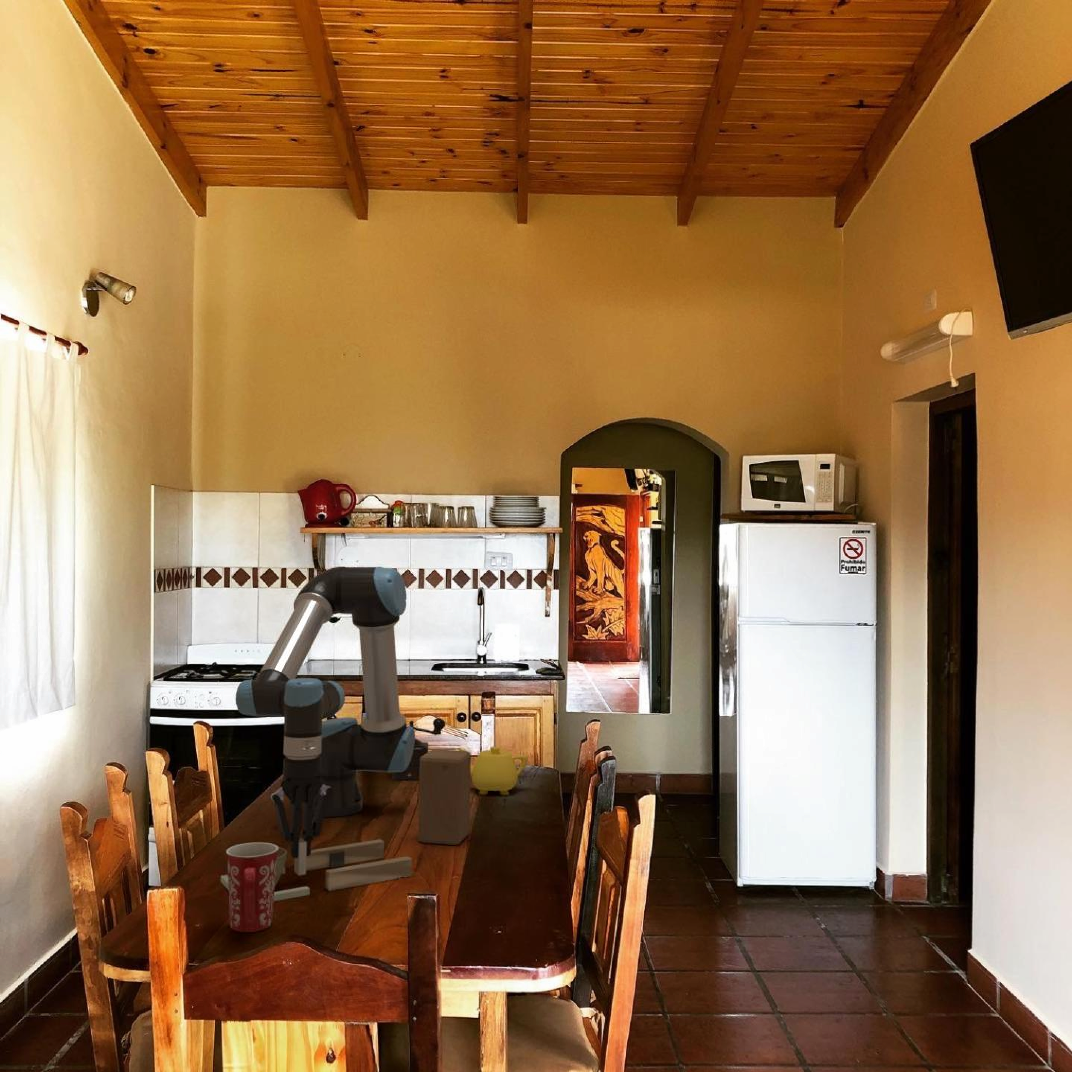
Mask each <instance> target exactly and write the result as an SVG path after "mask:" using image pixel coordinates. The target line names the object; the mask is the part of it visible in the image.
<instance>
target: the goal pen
mask: <svg viewBox="0 0 1072 1072" xmlns="http://www.w3.org/2000/svg"><path fill="white" fill-rule="evenodd" d="M285 874H286V867H285V866H284V868H283V871H282V874H281V875H285ZM220 883H221V884H222V885H223V887H225V888H226V889H227V890H228V891H229V885H228V874H224V875H220ZM310 891H311V889H310V887H308V886H301V887H295V888H289V889H284V890H278V891H274V902H278V901H283V900H288V899H294V898H299V897H304V896H310Z"/></svg>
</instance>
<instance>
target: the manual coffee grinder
mask: <svg viewBox="0 0 1072 1072" xmlns="http://www.w3.org/2000/svg"><path fill="white" fill-rule="evenodd" d="M408 723H409V725H408V726H411V727H413V728H414V731H417V732H422V733H428V734H431V735H434V736H437V735H442V730H443V728H444V727H446V721H445V720H444V719H443V718H440V717H436V718H435V719H433V721H432V725H433V730H430V729H425V728H418V727H416V726H415V725H414V723H415V722H414V721H413V720H410V721H409V722H408ZM428 752H429V742H427V741H425V742H424V741H422V740H419V739H417V738H415V743H414V749H413V754H412V757H411V760H410V763H409V765H408V767H407V768H406V770H404V771H403V772H392V777H391V780H392V781H419V776H420V758H421V757H422V756H423V755H425V754H426V753H428Z"/></svg>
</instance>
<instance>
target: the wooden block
mask: <svg viewBox="0 0 1072 1072" xmlns="http://www.w3.org/2000/svg"><path fill="white" fill-rule="evenodd" d="M471 760H472V755H471V752H470V751H468V750H466V751H460V750H458V749H457V750H456V749H454V750H453V749H444V748H443V749H441V748H434V749H431V750H428V753H426V754H425V755H423V756H422V757H421V758H420V776H419V780H418V781H419V783H418V784H419V785H418V786H419V787H418V788H419V789H418V791H419V792H418V833H417V834H418V837H417V838H418V841H419V842H421V843H423V844H438V845H449V846H450V845H451V846H457V845H460V843H461V842H462V841H463V840H465V838H467V836H468V835H469V833H470V820H471V819H470V810H471V809H470V808H471V807H470V806H471V777H470V766H471V764H472V761H471Z"/></svg>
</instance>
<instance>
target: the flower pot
mask: <svg viewBox="0 0 1072 1072" xmlns="http://www.w3.org/2000/svg"><path fill="white" fill-rule="evenodd" d="M287 856H288V851H287V849H286V848H284V847H281V846H278V852H277V862H276V875H275V886H276V885H277V884H278V882H279V880H280V878H281V876H282V875H283V874H282V871H283V868H284V867H285V865H286V861H287Z"/></svg>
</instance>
